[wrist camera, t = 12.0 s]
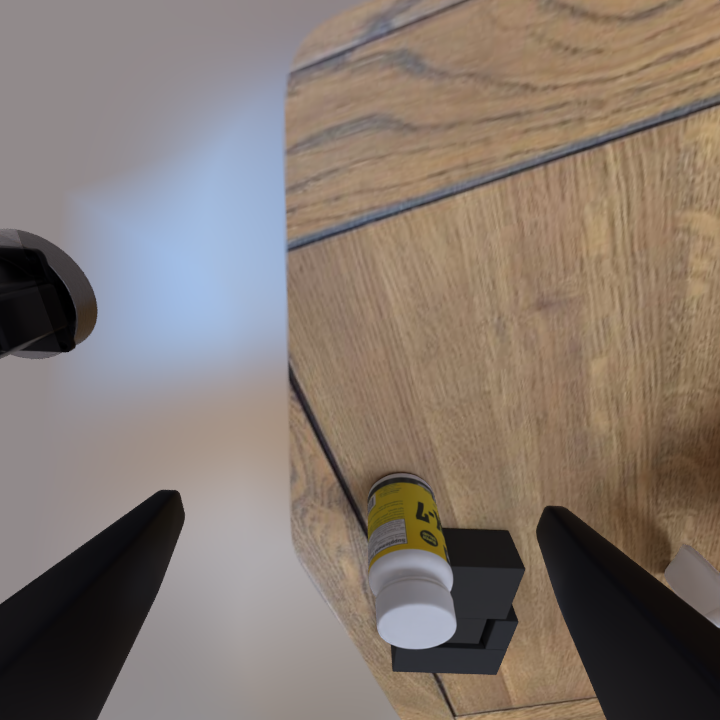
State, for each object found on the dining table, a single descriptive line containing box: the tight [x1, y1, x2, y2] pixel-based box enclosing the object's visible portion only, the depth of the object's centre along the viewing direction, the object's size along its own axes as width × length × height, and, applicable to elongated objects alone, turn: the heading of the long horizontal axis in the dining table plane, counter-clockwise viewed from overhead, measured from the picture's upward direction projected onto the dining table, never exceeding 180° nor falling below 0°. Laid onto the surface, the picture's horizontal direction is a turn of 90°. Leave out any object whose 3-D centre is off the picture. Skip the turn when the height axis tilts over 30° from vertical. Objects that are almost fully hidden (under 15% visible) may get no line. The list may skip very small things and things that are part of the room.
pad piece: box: [442, 529, 525, 644], centre depth 27 cm, size 7×10×3 cm
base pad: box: [391, 605, 518, 675], centre depth 29 cm, size 9×8×3 cm
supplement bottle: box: [368, 473, 457, 649], centre depth 21 cm, size 5×5×8 cm
